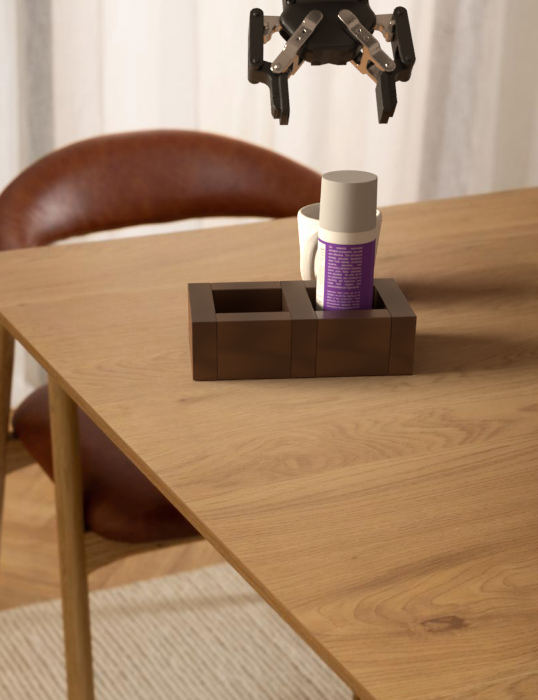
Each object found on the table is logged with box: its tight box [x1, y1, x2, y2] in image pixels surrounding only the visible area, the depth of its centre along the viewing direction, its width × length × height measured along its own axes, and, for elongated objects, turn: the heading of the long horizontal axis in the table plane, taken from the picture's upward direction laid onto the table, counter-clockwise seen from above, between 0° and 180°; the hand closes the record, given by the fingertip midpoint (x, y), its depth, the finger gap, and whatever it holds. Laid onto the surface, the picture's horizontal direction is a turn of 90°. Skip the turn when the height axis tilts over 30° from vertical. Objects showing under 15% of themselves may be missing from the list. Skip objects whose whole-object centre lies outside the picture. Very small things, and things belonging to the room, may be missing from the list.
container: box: [316, 169, 379, 311], centre depth 98 cm, size 5×5×15 cm
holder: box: [187, 277, 418, 381], centre depth 100 cm, size 18×10×5 cm, turn 93°
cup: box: [297, 202, 383, 281], centre depth 112 cm, size 11×8×8 cm
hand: (335, 119), depth 100 cm, fingers open, 8 cm apart
